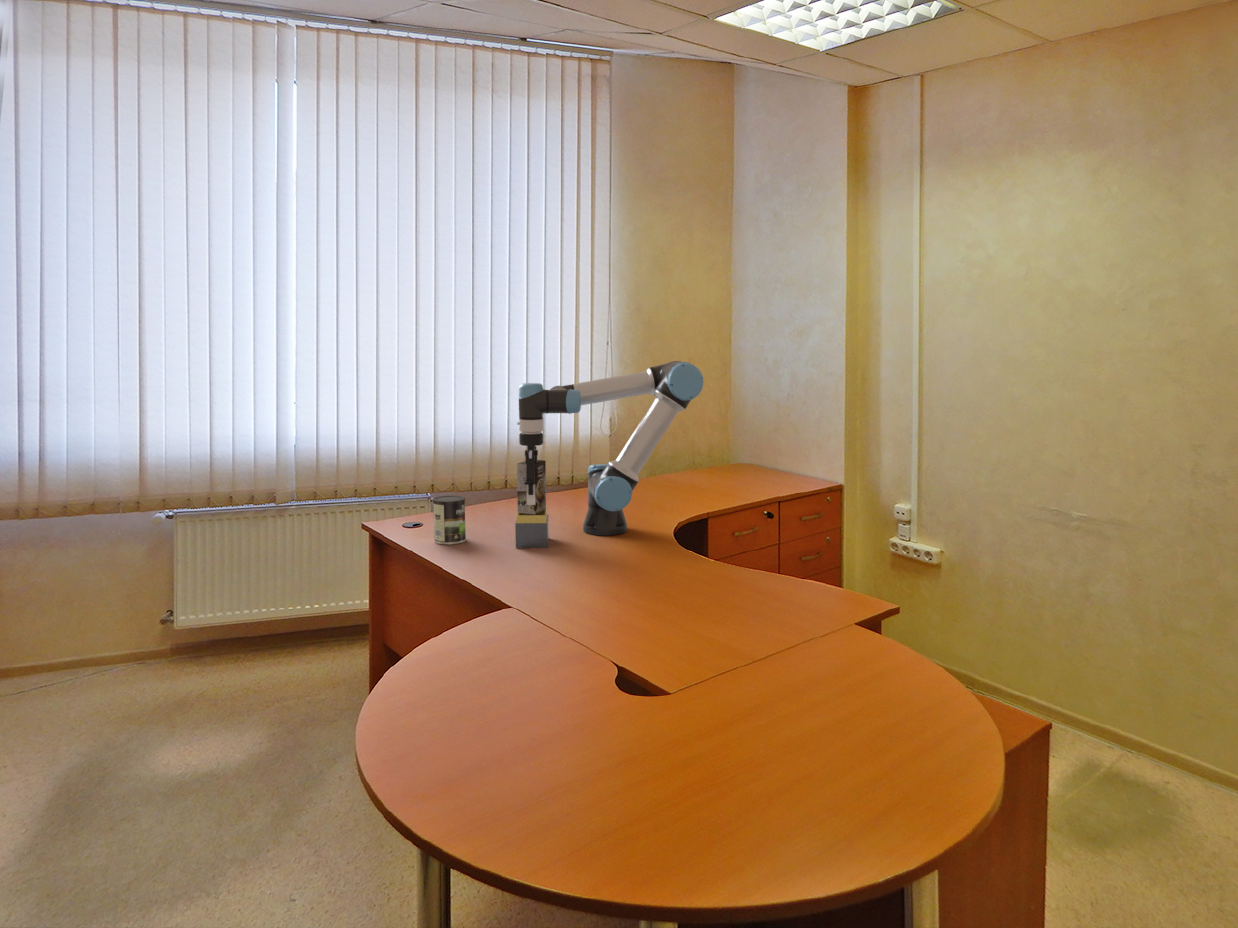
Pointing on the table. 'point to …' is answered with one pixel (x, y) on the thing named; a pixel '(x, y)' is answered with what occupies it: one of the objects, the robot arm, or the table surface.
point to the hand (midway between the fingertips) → (531, 501)
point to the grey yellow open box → (532, 530)
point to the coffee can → (449, 519)
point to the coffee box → (539, 488)
